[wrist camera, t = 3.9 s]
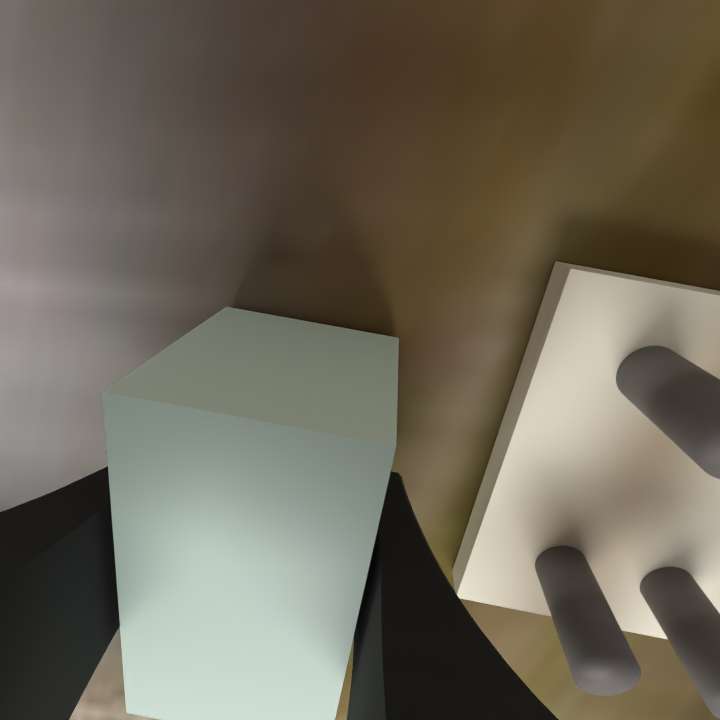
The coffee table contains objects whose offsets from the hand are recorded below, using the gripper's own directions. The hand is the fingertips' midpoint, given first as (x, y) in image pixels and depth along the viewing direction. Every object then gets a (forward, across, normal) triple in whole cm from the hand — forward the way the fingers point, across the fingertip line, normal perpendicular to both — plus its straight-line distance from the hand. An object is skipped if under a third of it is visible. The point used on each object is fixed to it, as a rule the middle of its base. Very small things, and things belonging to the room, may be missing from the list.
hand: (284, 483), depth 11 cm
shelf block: (+1, 0, 0) cm, 1 cm away
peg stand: (+2, -10, -2) cm, 10 cm away
